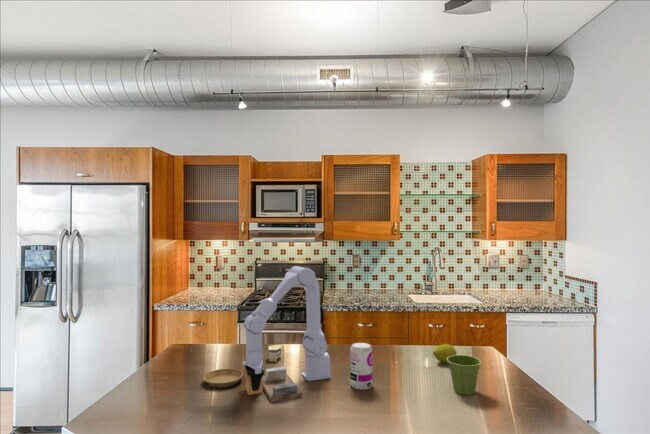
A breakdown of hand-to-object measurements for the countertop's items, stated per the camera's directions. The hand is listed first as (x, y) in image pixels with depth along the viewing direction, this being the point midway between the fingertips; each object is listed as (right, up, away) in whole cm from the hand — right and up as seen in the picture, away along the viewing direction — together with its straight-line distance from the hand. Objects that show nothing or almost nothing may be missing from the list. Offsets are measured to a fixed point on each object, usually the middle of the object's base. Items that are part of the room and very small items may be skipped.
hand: (253, 387), depth 145 cm
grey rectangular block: (+7, 0, +7) cm, 10 cm away
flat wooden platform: (+9, -2, +2) cm, 9 cm away
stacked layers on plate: (+3, -3, +35) cm, 35 cm away
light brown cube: (0, -1, 0) cm, 1 cm away
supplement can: (+39, -2, +5) cm, 39 cm away
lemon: (+78, -2, +30) cm, 83 cm away
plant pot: (+75, -2, 0) cm, 75 cm away
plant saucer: (-13, -2, +9) cm, 16 cm away
